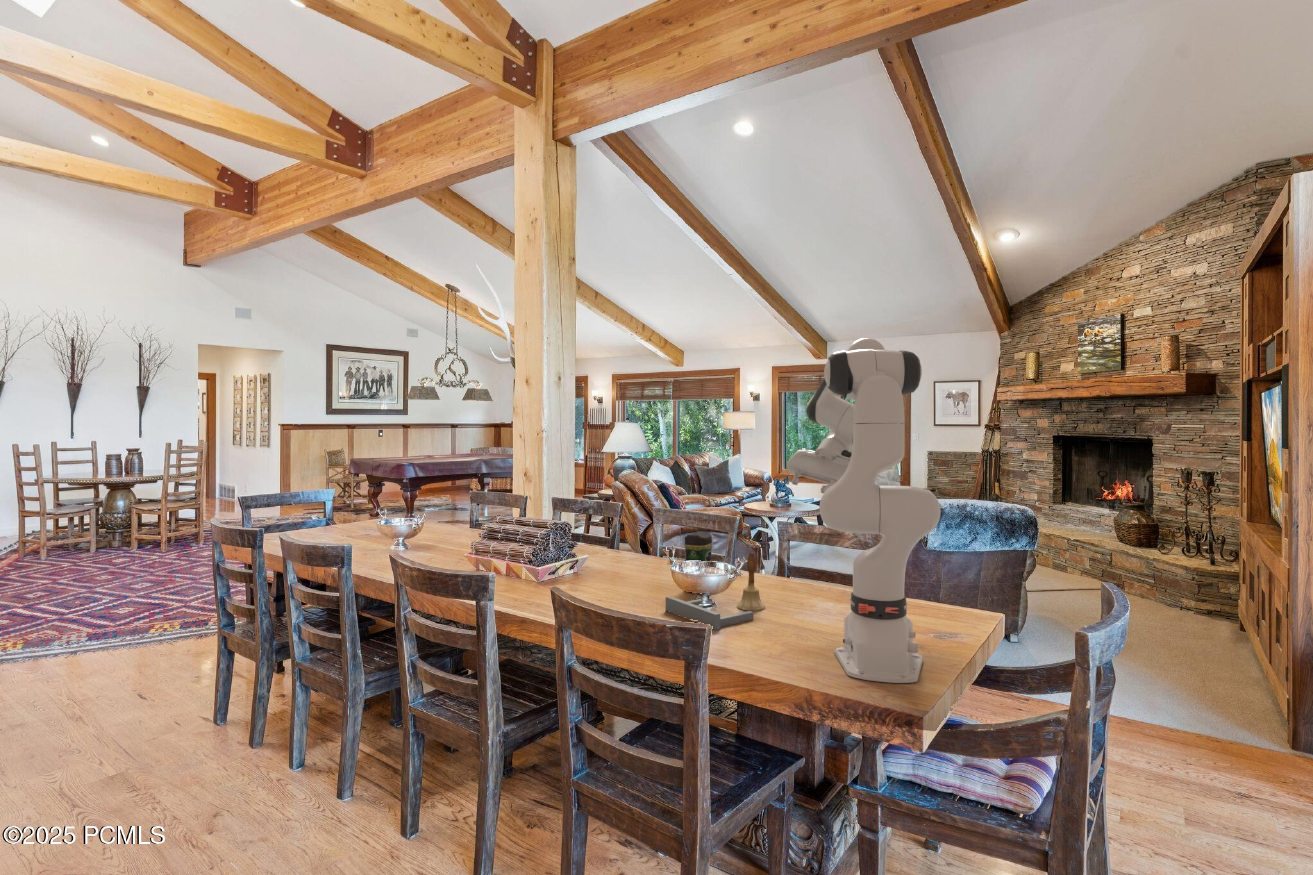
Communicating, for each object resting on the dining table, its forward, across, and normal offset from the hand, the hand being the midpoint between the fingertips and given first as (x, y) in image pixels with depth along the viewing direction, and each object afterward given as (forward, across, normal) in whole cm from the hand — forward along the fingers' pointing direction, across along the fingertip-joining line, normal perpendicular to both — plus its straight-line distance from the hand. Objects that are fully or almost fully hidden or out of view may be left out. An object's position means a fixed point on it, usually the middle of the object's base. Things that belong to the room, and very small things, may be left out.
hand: (808, 487), depth 192 cm
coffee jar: (+30, -29, +30) cm, 51 cm away
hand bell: (+32, -5, +21) cm, 39 cm away
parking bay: (+44, -9, +12) cm, 46 cm away
